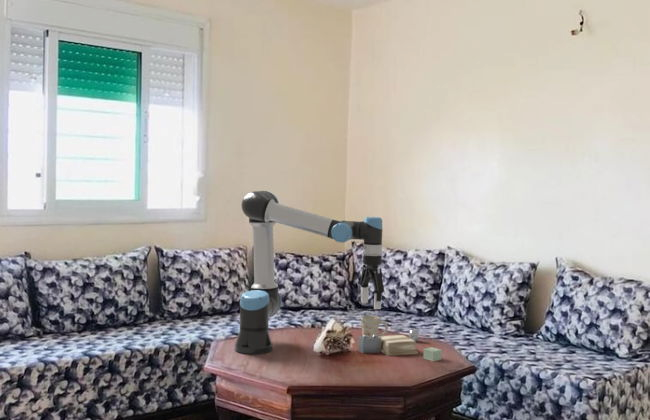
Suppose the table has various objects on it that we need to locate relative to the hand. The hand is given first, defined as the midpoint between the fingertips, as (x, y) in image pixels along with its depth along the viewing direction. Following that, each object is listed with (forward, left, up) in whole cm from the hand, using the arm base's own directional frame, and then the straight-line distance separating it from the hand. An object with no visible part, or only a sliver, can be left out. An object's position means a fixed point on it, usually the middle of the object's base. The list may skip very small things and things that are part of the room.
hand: (370, 306), depth 272 cm
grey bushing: (-11, +26, -19) cm, 34 cm away
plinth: (+2, +11, -19) cm, 22 cm away
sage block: (+17, +20, -19) cm, 32 cm away
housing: (0, 0, -19) cm, 19 cm away
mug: (-18, +10, -19) cm, 28 cm away
